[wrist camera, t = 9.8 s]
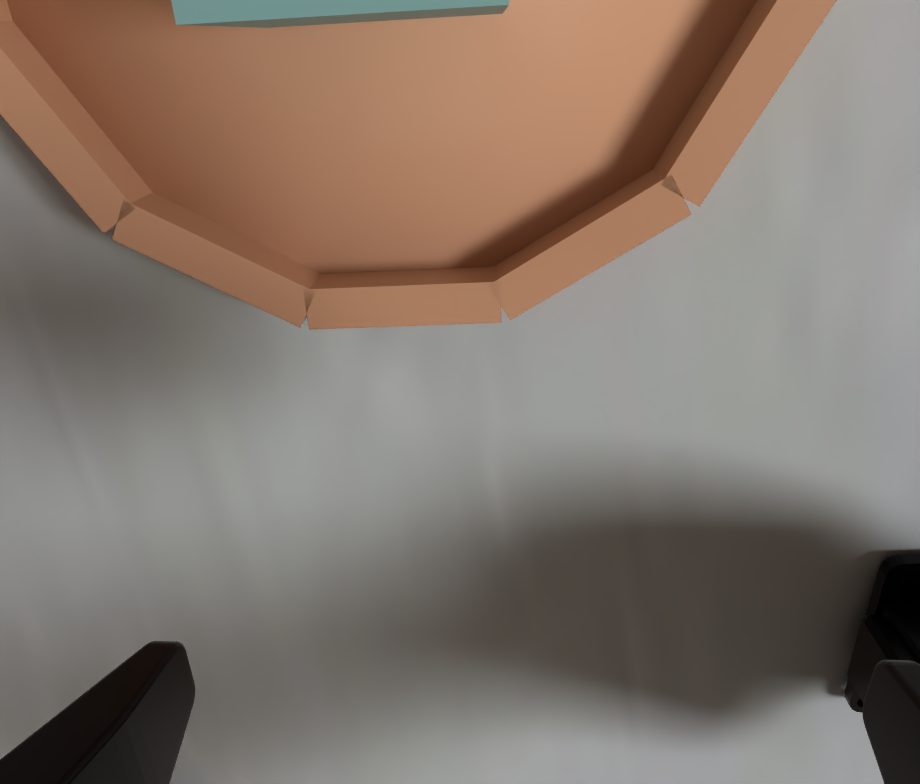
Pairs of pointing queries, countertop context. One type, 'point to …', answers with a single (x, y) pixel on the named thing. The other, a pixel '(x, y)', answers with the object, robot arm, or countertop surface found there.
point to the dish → (394, 142)
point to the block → (322, 11)
